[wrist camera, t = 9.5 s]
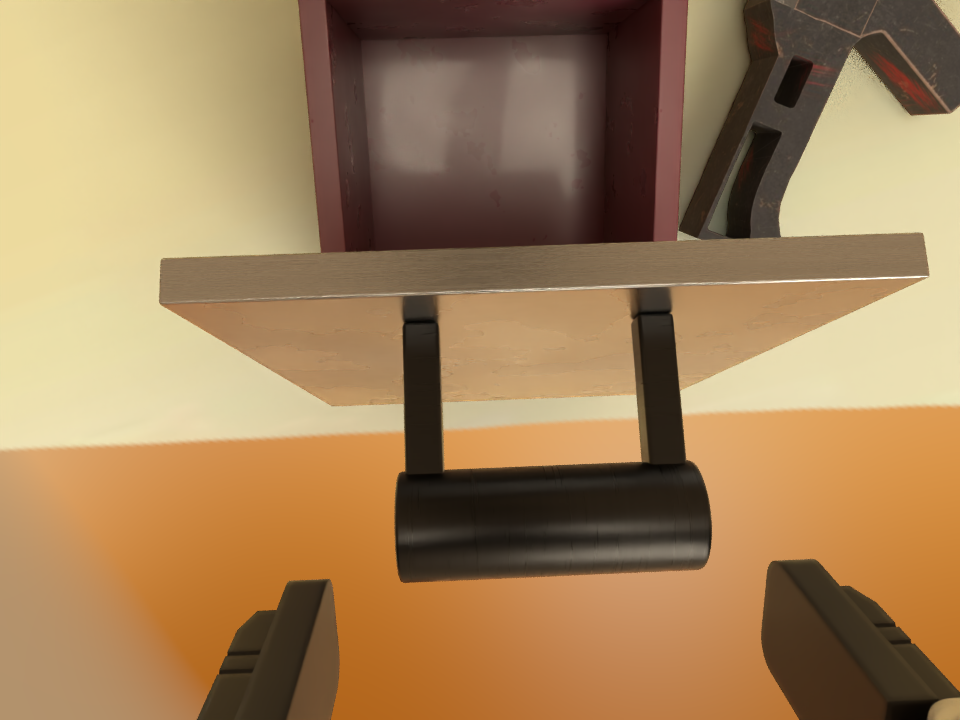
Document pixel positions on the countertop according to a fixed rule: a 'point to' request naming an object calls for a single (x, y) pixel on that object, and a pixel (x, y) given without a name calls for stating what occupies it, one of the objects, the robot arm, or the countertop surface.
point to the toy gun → (816, 93)
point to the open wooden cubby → (494, 121)
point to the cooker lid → (537, 370)
